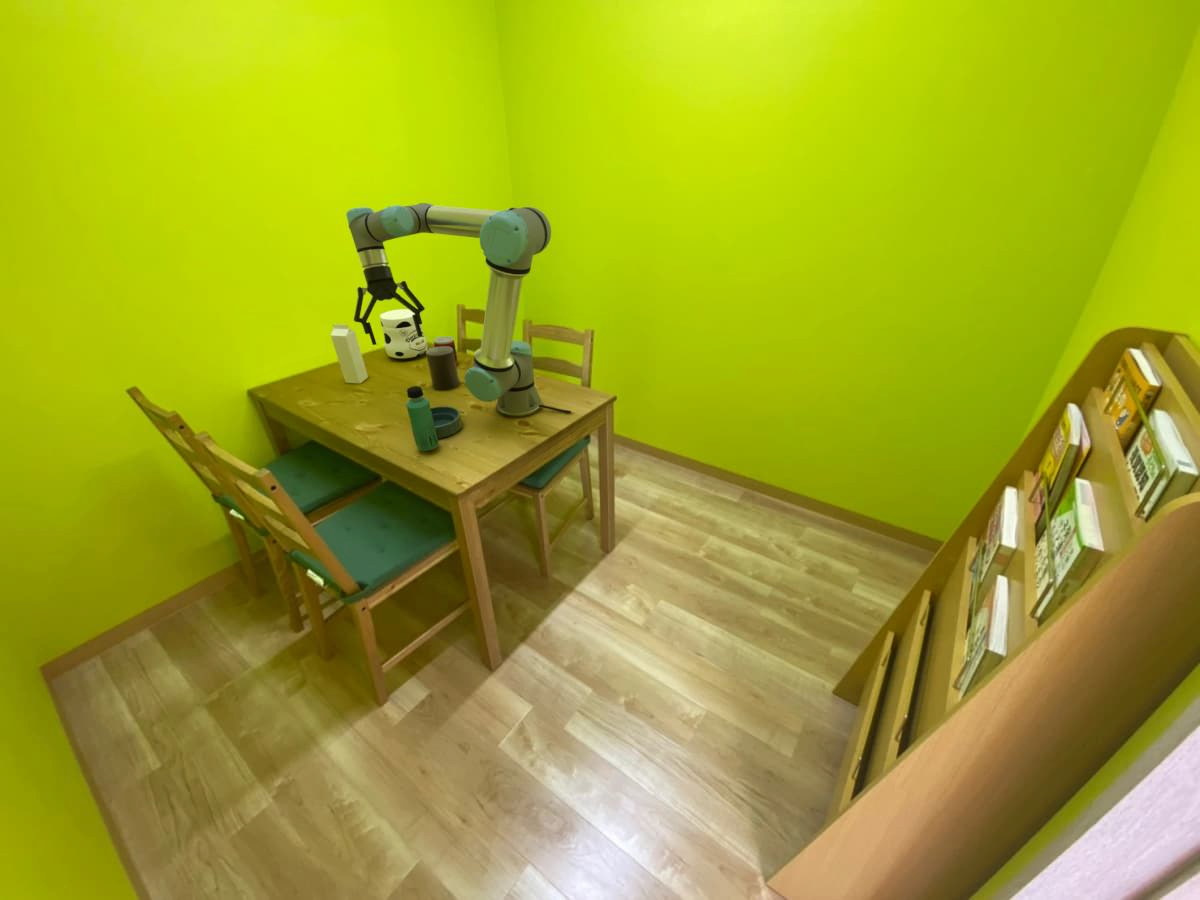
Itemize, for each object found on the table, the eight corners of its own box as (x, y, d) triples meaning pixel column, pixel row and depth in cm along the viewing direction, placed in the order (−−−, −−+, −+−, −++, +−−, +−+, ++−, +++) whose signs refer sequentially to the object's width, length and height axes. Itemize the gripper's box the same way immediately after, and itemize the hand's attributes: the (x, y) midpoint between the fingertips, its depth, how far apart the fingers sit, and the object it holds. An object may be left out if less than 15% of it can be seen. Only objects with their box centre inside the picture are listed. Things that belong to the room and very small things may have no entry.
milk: (360, 383, 183) (343, 327, 171) (345, 383, 183) (327, 327, 171) (368, 377, 188) (352, 322, 176) (354, 376, 189) (337, 321, 177)
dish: (466, 417, 159) (464, 405, 156) (456, 439, 147) (454, 427, 144) (423, 418, 159) (420, 406, 156) (410, 440, 147) (407, 428, 144)
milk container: (428, 360, 202) (419, 318, 193) (385, 364, 199) (373, 322, 189) (430, 346, 217) (422, 307, 207) (390, 350, 213) (380, 310, 204)
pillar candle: (449, 392, 176) (441, 353, 168) (427, 388, 179) (419, 349, 171) (464, 381, 184) (458, 344, 176) (443, 378, 187) (436, 341, 179)
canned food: (440, 362, 201) (435, 336, 195) (459, 361, 202) (454, 335, 196) (436, 369, 195) (431, 343, 189) (456, 368, 195) (452, 342, 189)
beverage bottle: (433, 456, 139) (419, 394, 128) (412, 454, 140) (396, 392, 129) (444, 445, 144) (431, 384, 134) (424, 442, 145) (409, 382, 135)
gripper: (416, 263, 148) (435, 332, 155) (328, 274, 137) (353, 348, 143) (421, 260, 142) (441, 332, 149) (330, 271, 130) (355, 348, 137)
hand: (398, 340), depth 146 cm, fingers open, 13 cm apart
